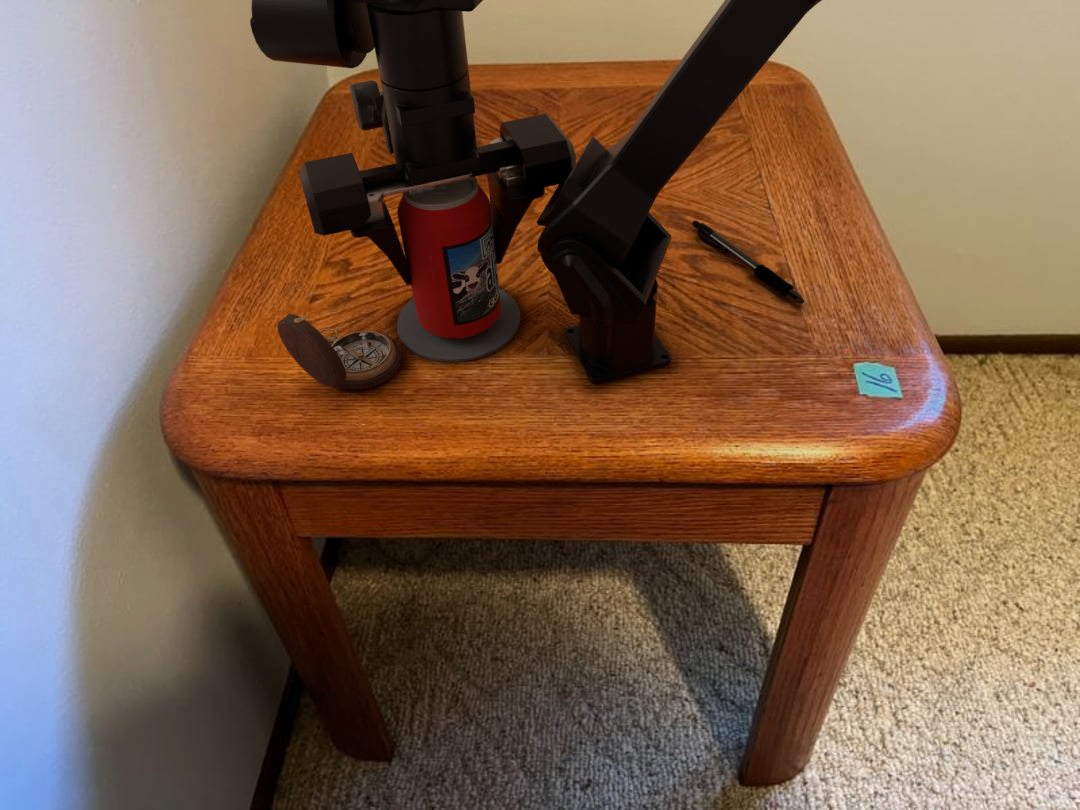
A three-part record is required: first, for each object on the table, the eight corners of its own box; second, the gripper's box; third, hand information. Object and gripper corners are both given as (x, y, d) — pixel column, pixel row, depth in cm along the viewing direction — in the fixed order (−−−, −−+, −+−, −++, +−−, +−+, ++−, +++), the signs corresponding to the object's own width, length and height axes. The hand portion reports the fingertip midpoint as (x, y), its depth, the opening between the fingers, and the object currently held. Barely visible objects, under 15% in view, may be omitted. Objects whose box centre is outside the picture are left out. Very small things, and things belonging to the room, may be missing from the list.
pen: (683, 231, 77) (684, 220, 76) (698, 226, 77) (699, 215, 77) (791, 312, 68) (793, 301, 67) (806, 305, 69) (809, 293, 68)
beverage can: (490, 349, 66) (473, 213, 58) (407, 342, 67) (379, 207, 59) (510, 298, 71) (497, 164, 62) (432, 292, 72) (409, 160, 64)
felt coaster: (536, 343, 67) (536, 340, 67) (412, 375, 65) (411, 372, 65) (500, 273, 74) (499, 271, 73) (386, 300, 72) (385, 297, 71)
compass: (419, 358, 66) (405, 282, 61) (342, 416, 62) (320, 340, 57) (351, 320, 70) (332, 245, 65) (274, 372, 66) (247, 297, 61)
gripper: (523, 6, 62) (534, 195, 73) (265, 51, 58) (317, 243, 69) (577, 64, 55) (580, 265, 65) (284, 120, 51) (339, 323, 62)
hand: (453, 271), depth 66 cm, fingers closed on beverage can, 7 cm apart
